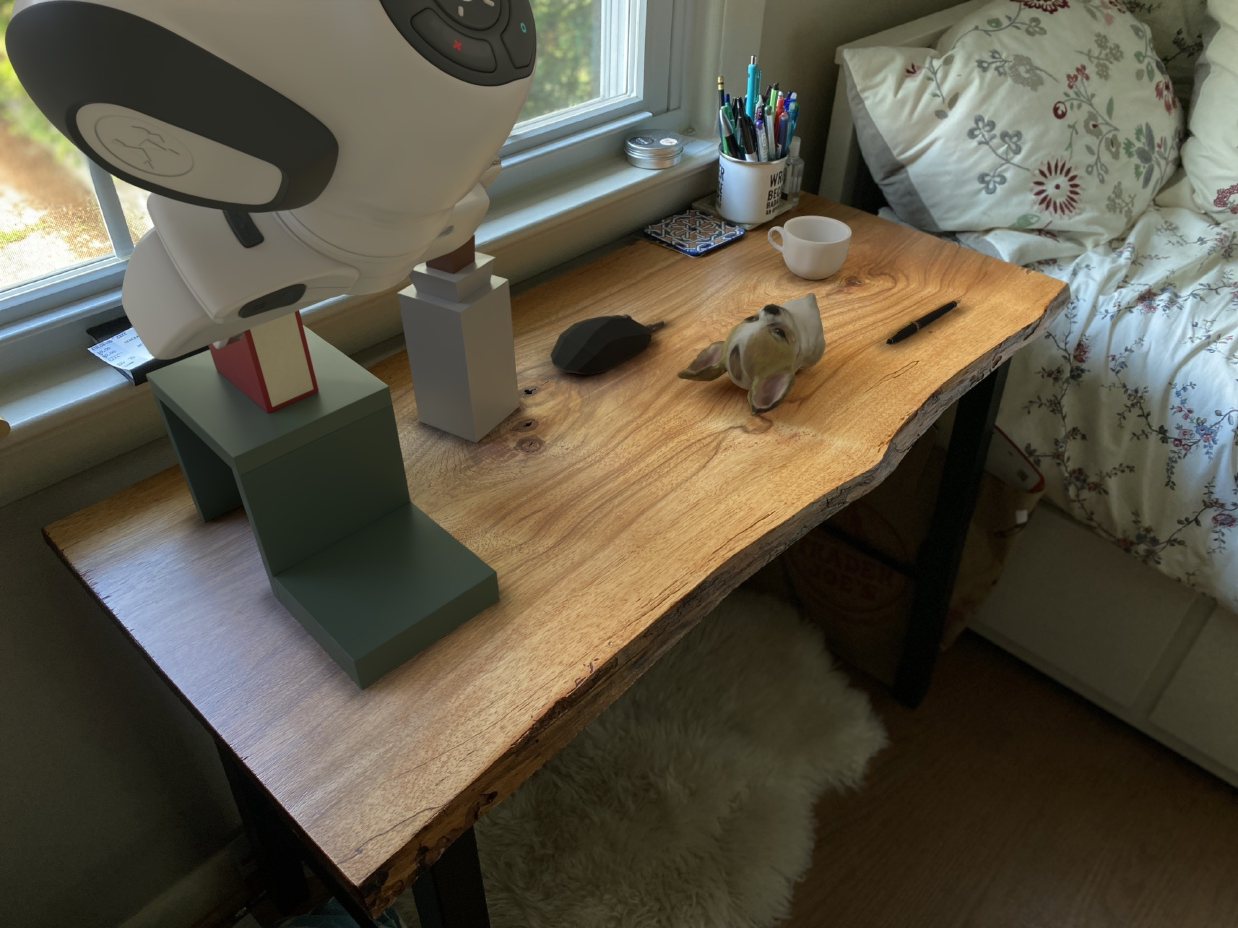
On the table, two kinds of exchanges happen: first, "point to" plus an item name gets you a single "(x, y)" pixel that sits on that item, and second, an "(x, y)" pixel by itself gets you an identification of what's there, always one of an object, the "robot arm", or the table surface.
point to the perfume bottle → (460, 343)
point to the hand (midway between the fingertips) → (293, 306)
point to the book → (270, 363)
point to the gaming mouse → (600, 343)
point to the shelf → (326, 508)
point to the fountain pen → (919, 323)
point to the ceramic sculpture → (765, 352)
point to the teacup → (813, 245)
